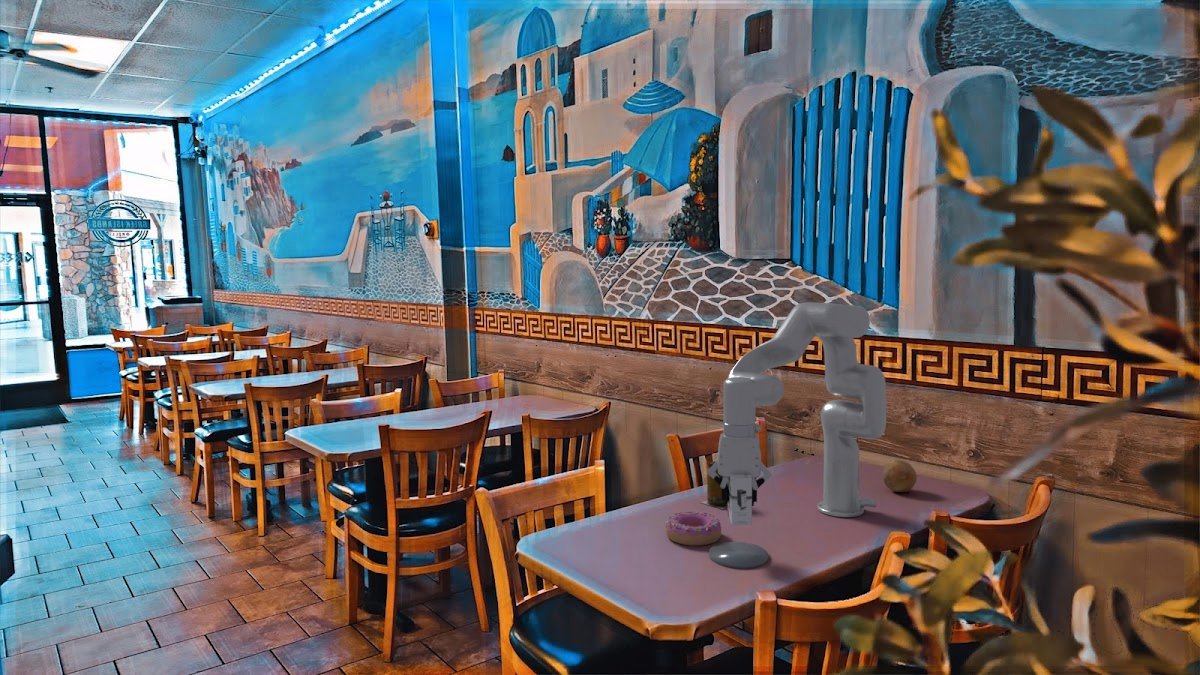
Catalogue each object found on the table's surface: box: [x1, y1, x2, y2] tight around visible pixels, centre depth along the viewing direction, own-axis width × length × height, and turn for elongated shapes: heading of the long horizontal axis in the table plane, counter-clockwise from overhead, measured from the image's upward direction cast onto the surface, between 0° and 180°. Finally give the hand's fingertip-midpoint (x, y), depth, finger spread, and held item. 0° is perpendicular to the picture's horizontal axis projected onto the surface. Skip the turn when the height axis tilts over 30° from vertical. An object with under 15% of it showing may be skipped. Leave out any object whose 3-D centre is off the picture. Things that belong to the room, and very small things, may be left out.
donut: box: [665, 511, 722, 547], centre depth 195 cm, size 14×14×5 cm
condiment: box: [700, 460, 728, 510], centre depth 220 cm, size 7×8×12 cm
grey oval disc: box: [708, 541, 769, 569], centre depth 182 cm, size 14×14×1 cm
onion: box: [882, 459, 918, 493], centre depth 229 cm, size 10×10×10 cm
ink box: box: [726, 475, 753, 526], centre depth 180 cm, size 9×5×12 cm, turn 178°
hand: (739, 503), depth 180 cm, fingers closed on ink box, 5 cm apart
